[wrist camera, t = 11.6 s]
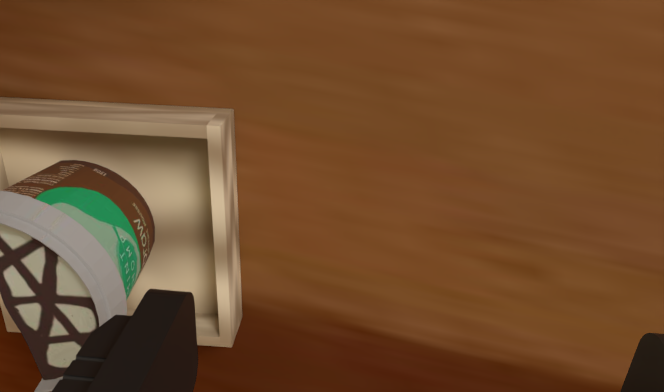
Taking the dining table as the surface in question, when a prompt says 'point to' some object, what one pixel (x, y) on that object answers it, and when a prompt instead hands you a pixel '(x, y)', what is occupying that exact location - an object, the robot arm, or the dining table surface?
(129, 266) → the food container
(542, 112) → the dining table surface
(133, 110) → the whitewashed wooden tray
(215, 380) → the dining table surface
